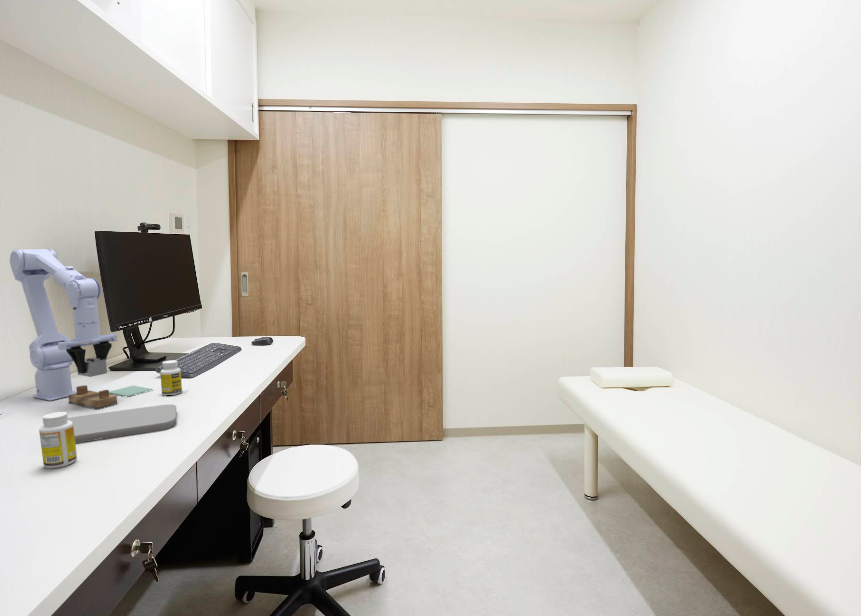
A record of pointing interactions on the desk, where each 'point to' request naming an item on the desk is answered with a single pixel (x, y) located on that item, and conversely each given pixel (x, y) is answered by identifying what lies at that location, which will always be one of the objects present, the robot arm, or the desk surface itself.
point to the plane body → (92, 398)
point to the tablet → (123, 422)
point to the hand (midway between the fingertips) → (91, 370)
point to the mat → (129, 391)
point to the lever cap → (94, 367)
